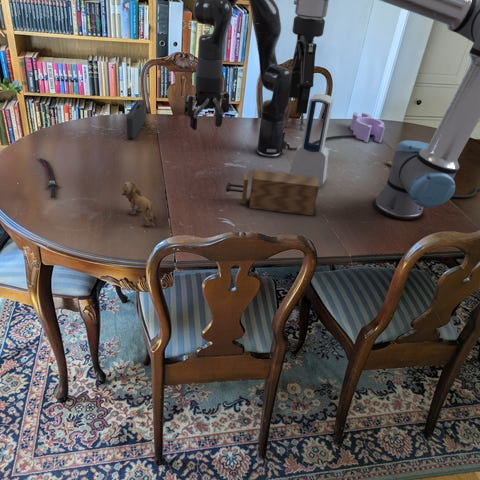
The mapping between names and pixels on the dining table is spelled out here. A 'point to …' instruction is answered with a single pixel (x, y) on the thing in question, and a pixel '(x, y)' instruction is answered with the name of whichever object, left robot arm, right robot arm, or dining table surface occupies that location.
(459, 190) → the dining table surface
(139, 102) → the handheld gaming console
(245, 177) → the drawer
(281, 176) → the cabinet
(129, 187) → the lion figurine
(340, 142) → the dining table surface
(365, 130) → the clip
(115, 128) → the dining table surface
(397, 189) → the right robot arm
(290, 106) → the miniature windmill
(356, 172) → the dining table surface
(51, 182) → the sword
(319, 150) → the electronic device
